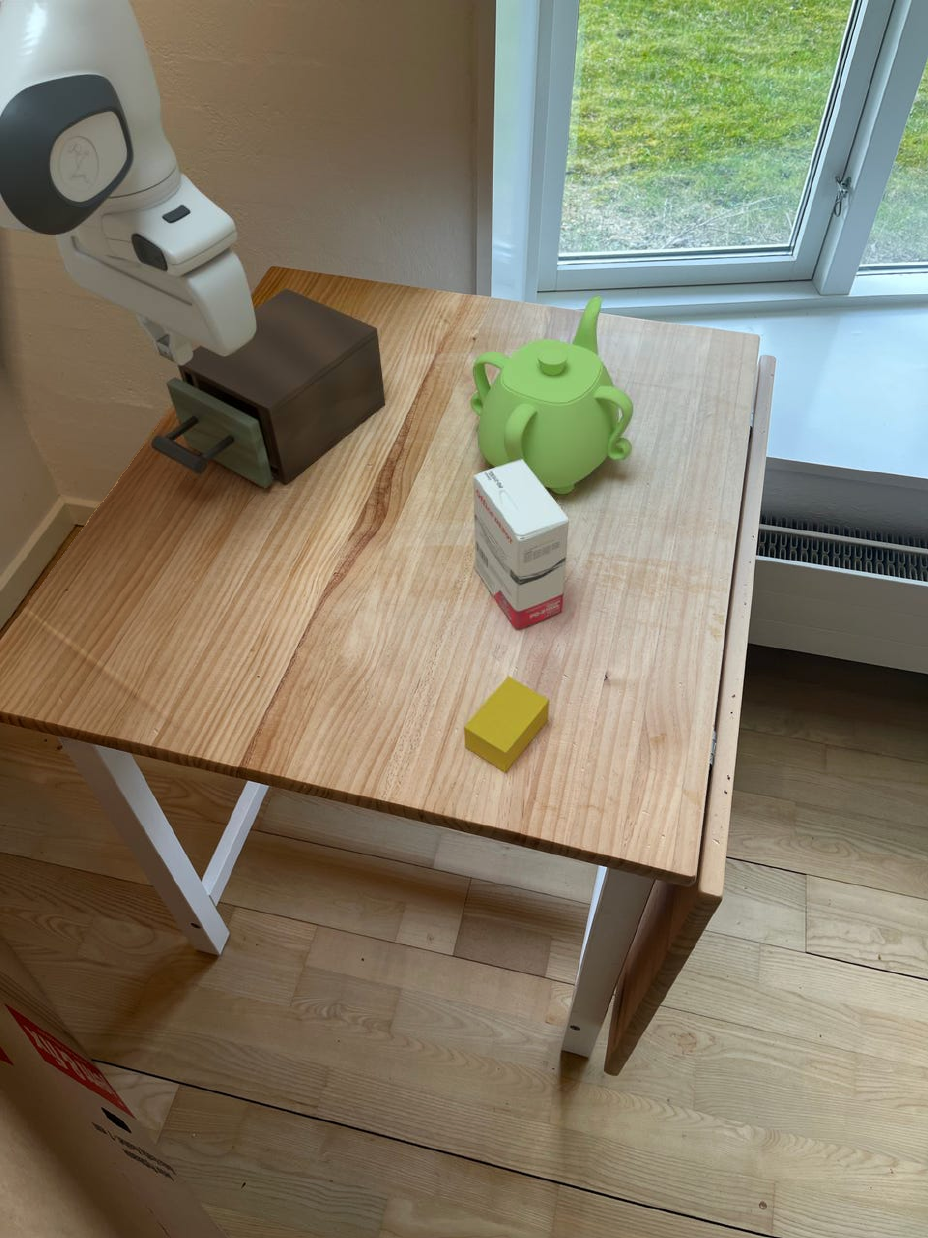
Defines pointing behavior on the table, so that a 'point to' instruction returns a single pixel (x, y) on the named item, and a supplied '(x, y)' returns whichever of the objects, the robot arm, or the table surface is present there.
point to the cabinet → (300, 377)
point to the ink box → (520, 543)
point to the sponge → (506, 723)
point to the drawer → (218, 432)
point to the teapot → (552, 407)
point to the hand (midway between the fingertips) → (175, 356)
